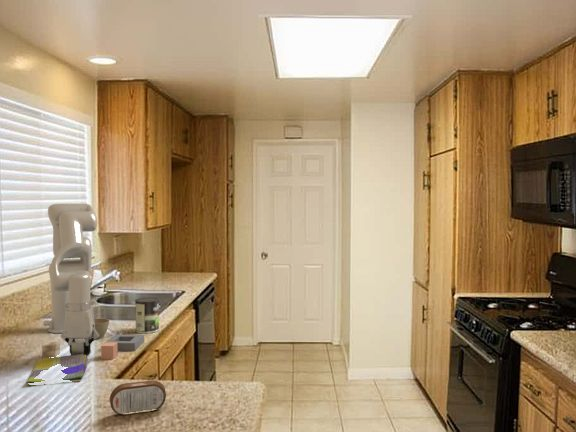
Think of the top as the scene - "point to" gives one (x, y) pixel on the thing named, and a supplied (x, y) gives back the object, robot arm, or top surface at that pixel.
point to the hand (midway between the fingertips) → (80, 354)
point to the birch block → (50, 349)
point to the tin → (137, 396)
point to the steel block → (78, 347)
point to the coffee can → (147, 315)
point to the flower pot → (101, 326)
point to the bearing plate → (127, 342)
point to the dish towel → (73, 362)
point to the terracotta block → (109, 350)
